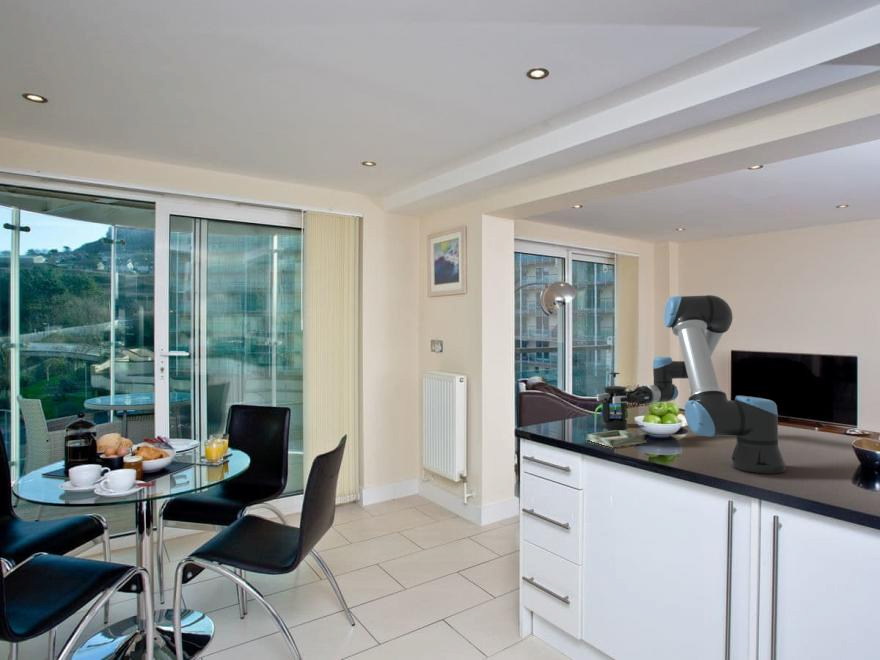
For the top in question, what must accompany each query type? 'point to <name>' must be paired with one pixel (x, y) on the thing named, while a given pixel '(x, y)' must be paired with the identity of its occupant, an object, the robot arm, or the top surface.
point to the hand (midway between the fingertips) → (605, 398)
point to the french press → (615, 422)
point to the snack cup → (612, 408)
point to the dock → (616, 438)
